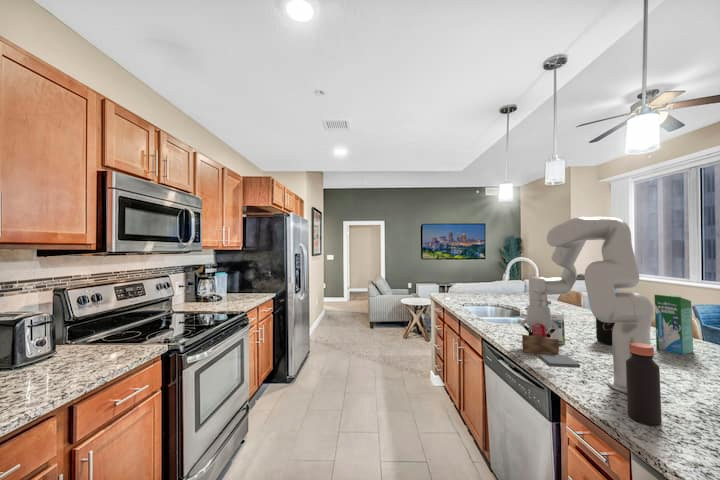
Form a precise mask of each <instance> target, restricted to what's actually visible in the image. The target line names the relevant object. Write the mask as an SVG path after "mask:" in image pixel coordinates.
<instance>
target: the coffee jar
mask: <svg viewBox="0 0 720 480" xmlns="http://www.w3.org/2000/svg"><path fill="white" fill-rule="evenodd" d="M614 324H615V323H606V322H602V321H600V320H598V319H597V318H596V317H595V329H596V330H595V332H596V334H595V336H596V340H597V342H598V343H600V344H603V345H607V346H613V345H612V331H613V327H614Z"/></svg>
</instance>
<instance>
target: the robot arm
mask: <svg viewBox="0 0 720 480" xmlns="http://www.w3.org/2000/svg"><path fill="white" fill-rule="evenodd" d="M587 241H603V242H602V246H601V255H602V260H596V261H593V262H591V263H589V264H588V265H587V266H586V268H585V271H584V276H583V277H584V284H585V289H586V294H587V299H588V303H589V307H590V311H591V313H592V314H593V316H594V318H595V319H596V318H597V319H598V320H600V321H602V322H606V323H615V324H614V327H613V331H612V345H611V346H612V366H613V377H611V378H609V379H607V384H608V386H610V387H611V389H612V388H613V389H614V390H616V391H618V392H621V393H625V394H627V377H626V360H628V359H629V358H630V357H632V354H630V343H643V344H648V345H651V328H652V327H651V325H652V321H653V317H654V307H653V304H652V302H651V300H650V299H649V298H648V297H647V296H645V295H643V294H640V293H639V292H638V293H636V292H629V291H628V292H616V289H621V290H622V289H631V288H634V287H636V286H638V284H639V282H640V273H639V269H638V268H639V267H638V264H637V260H636V257H635V253H634V248H633V242H632V232H631V228H630V227H629V225H628V223H627V222H626V221H624V220H623V219H620V218H617V217H611V216H610V217H609V216H608V217H607V216H604V217H603V216H592V217H591V216H589V217H588V216H586V217H585V216H580V217H573V218H571V219H569V220H566V221H564V222H562V223H559V224H558V225H555V226H554V227H552V228H551V229H550V230H549V231H548V232H547V235H546V242H547V244H548V245H549V246H550V247H552V248H554V251H553V252H552V254H551V260H552V262H553V263H555V265H558V266H559V267H561V268H563V271H562V274H561V275H560V277H543V276H531V277H529V278H528V297H529V299H528V300H529V301H528V302H529V304H528V305H527V306H526V307H527V308H526V318H524V319H523V320H522V321H521V322H520V326H522V327H523V329H525V330H526V331H527V333H528V335H530V336H532V327H533V326H534V325H535V324H537V323H542V325H543V326H545V328H546V330H547V337H548V338H551V334H552V333H553V332H554V331H555V330H557V329H558V328H559V327H558V326H557V325H556V324H555V323H554V322H553V321H552V320H551V308H550V306H549V305H552V301H550V300H548V296H552V295H555V296H556V295H566V294H568V293H569V292H570V291H571V290H572V289H573V287H574V286H575V283H576V281H577V277H578V275H577V274H578V273H577V269H576V266H575V263H576V261H577V259H578V257H579V255H580V254H581V251H582V249H583V248H584V246H585V244H586V242H587ZM552 325H553V326H554V327H553V328H552V329H551V330H550V329H549V328H551V327H552Z"/></svg>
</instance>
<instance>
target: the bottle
mask: <svg viewBox="0 0 720 480" xmlns="http://www.w3.org/2000/svg"><path fill="white" fill-rule="evenodd" d="M630 354H632V357H630V358H629V359H628V360H626V377H627V393H626V397H627V398H626V399H627V401H626V402H627V415H628V417H629V418H630V419H632V420H633V421H634V422H637V423H639V424H643V425H647V426H652V427H654V426H655V427H656V426H657V427H658V426H660V425H662V422H663V421H662V418H663V417H662V397H661V394H662V393H661V373H660V371H661V370H660V366H659V365H658V363H657V362H656V361H654V360H653V358H654V357H655V347H654V346H653V345H651V344H650V345H648V344H643V343H630Z"/></svg>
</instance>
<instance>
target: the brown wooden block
mask: <svg viewBox="0 0 720 480" xmlns="http://www.w3.org/2000/svg"><path fill="white" fill-rule="evenodd" d="M521 338H522V340H521V341H522V342H521V343H522V344H521V345H522V352H523V353H526V354H534V355H538V354H552V355H560V350H559V349H560V348H559V346H560V344H559V341H558V338H548V337H539V336H530V335H529V334H522V335H521Z"/></svg>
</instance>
